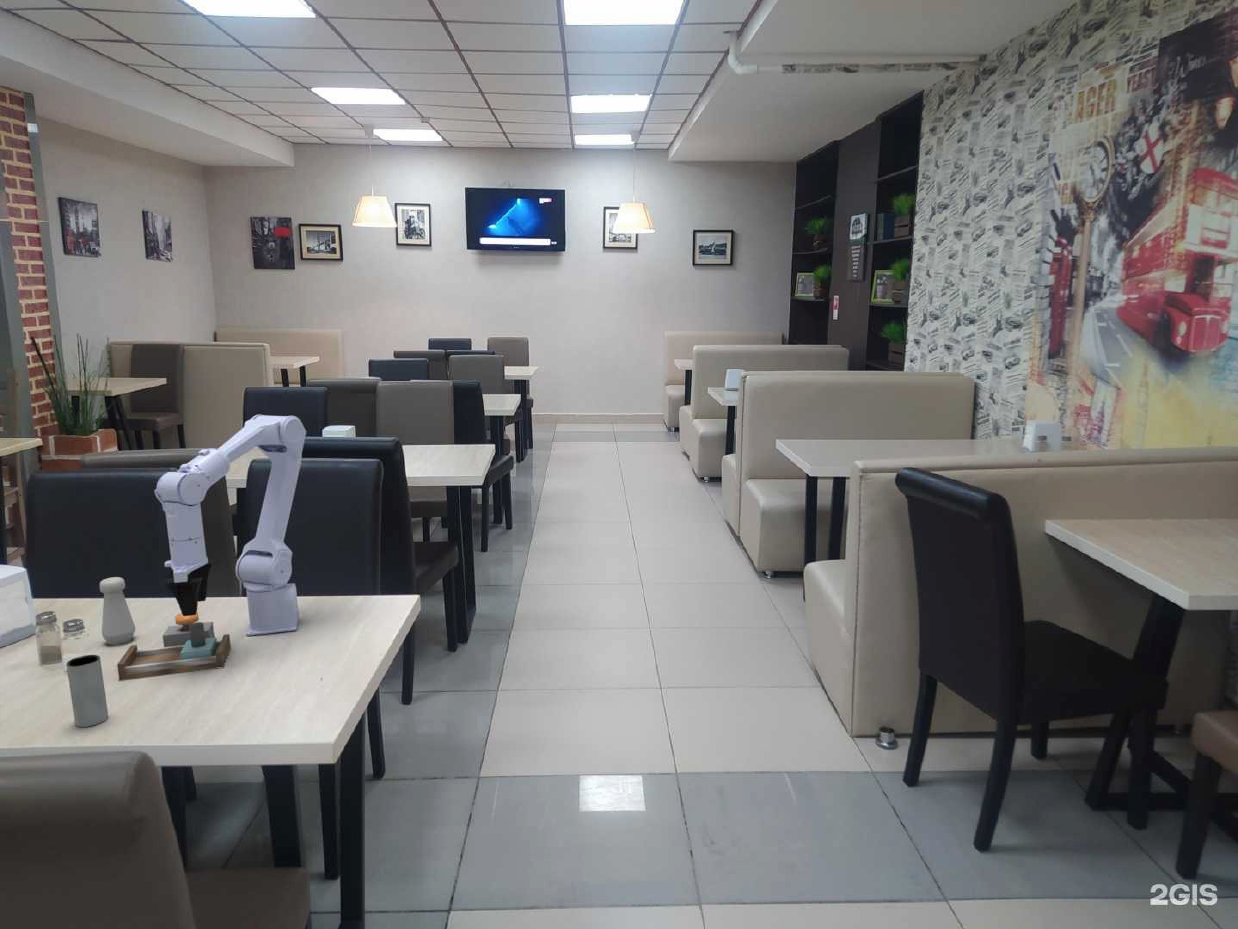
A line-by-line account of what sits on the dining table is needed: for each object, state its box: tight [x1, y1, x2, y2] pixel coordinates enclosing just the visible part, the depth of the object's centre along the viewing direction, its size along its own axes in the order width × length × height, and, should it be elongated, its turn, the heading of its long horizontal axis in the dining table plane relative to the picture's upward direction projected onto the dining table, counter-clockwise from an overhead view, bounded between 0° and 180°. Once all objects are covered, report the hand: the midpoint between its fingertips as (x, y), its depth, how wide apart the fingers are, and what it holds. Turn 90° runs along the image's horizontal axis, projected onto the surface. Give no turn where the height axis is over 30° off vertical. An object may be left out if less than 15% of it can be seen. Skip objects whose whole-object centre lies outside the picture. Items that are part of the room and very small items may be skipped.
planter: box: [65, 654, 109, 728], centre depth 132 cm, size 4×4×10 cm
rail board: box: [116, 633, 232, 681], centre depth 154 cm, size 17×9×3 cm, turn 107°
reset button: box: [174, 612, 200, 631], centre depth 162 cm, size 4×4×4 cm
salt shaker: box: [99, 576, 136, 646], centre depth 165 cm, size 6×6×13 cm
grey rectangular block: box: [162, 621, 215, 647], centre depth 163 cm, size 8×5×4 cm, turn 107°
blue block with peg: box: [180, 621, 217, 660], centre depth 155 cm, size 5×6×6 cm
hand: (194, 607), depth 154 cm, fingers open, 7 cm apart
